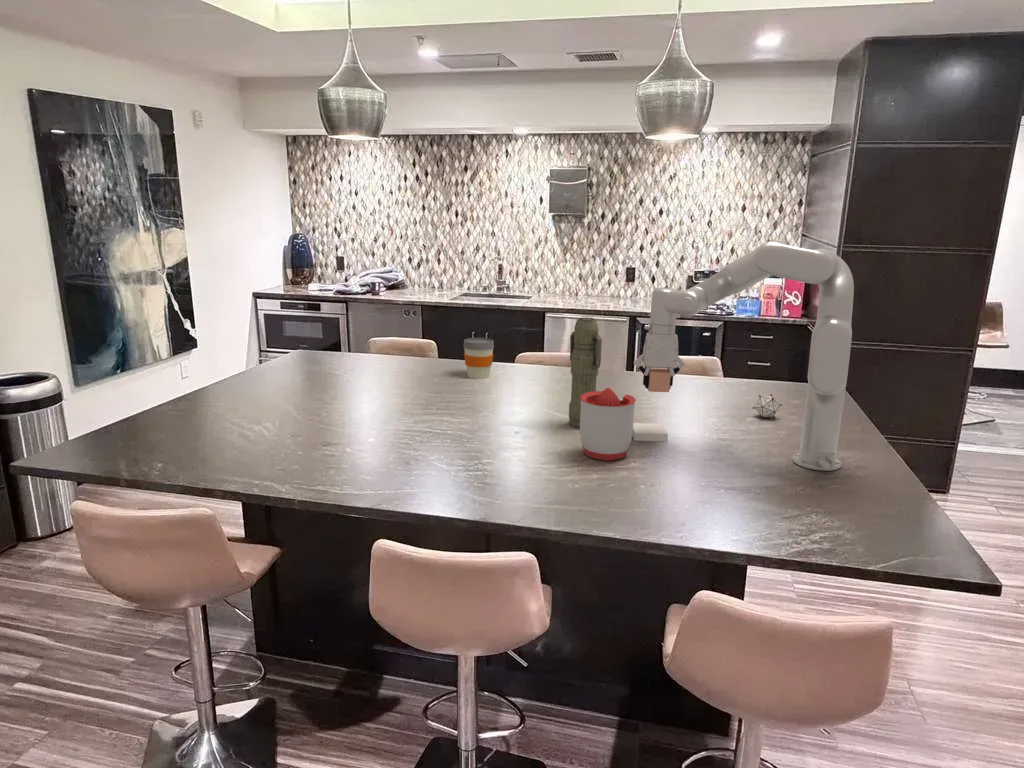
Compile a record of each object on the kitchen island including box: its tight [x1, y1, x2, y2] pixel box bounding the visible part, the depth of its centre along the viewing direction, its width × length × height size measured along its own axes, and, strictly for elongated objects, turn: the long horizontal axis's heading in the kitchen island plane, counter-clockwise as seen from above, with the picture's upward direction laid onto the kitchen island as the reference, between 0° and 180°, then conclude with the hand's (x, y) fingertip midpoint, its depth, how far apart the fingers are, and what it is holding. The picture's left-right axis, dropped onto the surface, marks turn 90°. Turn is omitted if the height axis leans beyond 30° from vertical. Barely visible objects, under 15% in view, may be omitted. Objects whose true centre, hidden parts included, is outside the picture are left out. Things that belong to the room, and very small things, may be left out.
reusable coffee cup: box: [463, 337, 495, 380], centre depth 292 cm, size 12×13×15 cm
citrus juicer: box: [579, 387, 637, 462], centre depth 203 cm, size 16×17×20 cm
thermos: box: [568, 317, 603, 430], centre depth 227 cm, size 9×12×35 cm
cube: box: [647, 368, 671, 393], centre depth 216 cm, size 6×6×6 cm
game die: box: [751, 393, 783, 420], centre depth 242 cm, size 9×8×10 cm
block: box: [632, 422, 669, 443], centre depth 222 cm, size 10×10×2 cm
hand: (657, 387), depth 216 cm, fingers closed on cube, 6 cm apart
